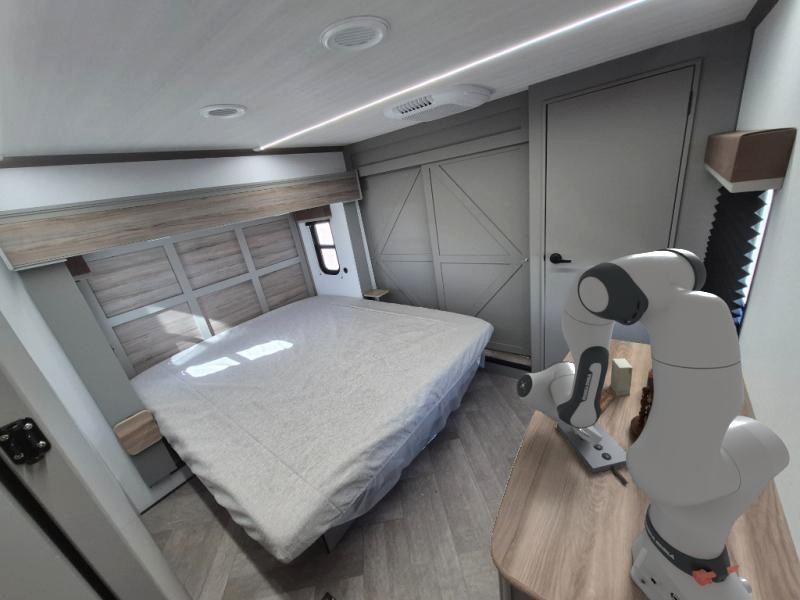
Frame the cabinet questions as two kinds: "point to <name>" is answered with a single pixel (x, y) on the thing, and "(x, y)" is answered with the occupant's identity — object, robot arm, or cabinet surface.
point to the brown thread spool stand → (642, 412)
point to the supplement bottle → (650, 378)
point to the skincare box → (621, 376)
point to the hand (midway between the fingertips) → (587, 423)
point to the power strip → (596, 450)
